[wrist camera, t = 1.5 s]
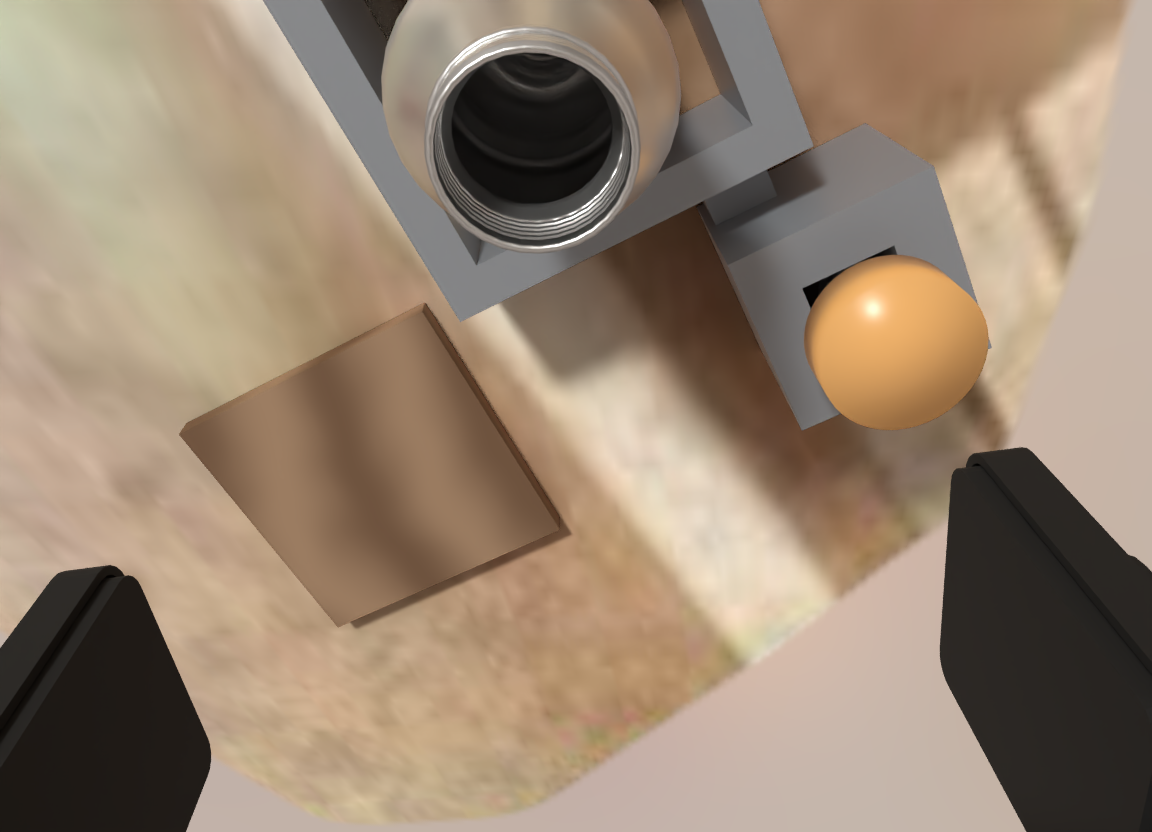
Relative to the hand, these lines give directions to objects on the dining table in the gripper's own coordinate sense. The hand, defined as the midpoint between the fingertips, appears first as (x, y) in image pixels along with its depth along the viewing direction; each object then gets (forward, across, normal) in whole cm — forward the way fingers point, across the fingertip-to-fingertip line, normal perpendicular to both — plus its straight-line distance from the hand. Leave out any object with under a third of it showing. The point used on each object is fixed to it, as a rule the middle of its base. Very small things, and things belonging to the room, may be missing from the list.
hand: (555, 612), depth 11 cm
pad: (+28, +10, +14) cm, 32 cm away
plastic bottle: (+28, 0, -4) cm, 28 cm away
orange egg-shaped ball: (+23, -10, +6) cm, 25 cm away
